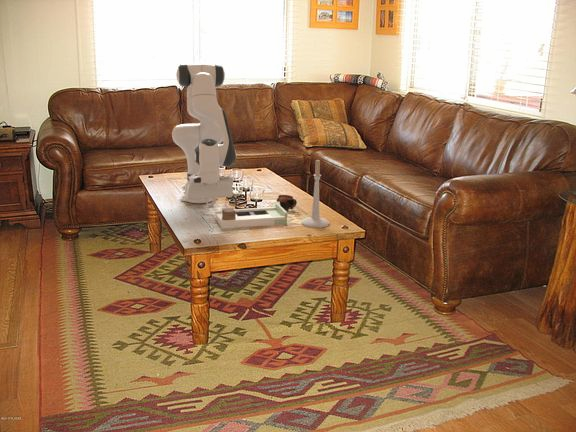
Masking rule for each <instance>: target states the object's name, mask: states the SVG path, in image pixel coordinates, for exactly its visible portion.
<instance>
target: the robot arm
mask: <svg viewBox="0 0 576 432" xmlns="http://www.w3.org/2000/svg"><path fill="white" fill-rule="evenodd" d="M175 74H176V75H175V76H176V80H177V82H178V85H180V86H181V87H185V88H187V89H186V90H187V91H186V111H187V113H188V114H189V115H190V116H191V117H192V118H193V119H197V120H198V121H199V123H183V124H178V125H175V126H174V127H173V129H172V132H171V137H172V141H173V142H174V144H175V145H177V146H178V147H179V148H181V150H182V151H183V152H184V155H185V156H186V162H187V173H186V182H185V184H184V185H182V193H181V197H180V201H181V202H186V203H187V202H188V203H193V204H206V208H207V209H213V208H214V207H215V204H216V201H217V200H218V199H221V198H232V197H233V196H234V189H233V185H234V179H233V177H231V176H228V175H227V176H221V174H220V173H221V168H220V167H221V166H222V167H231V166H232V165H234V164H235V162H236V161H237V151H236V149H235V145H234V141H233V137H232V133H231V130H230V124H229V121H228V117H227V114H226V111H225V109H224V108H222V107H221V106H220V105H219V102H218V99H217V87H221V86H222V85H223V84H224V81H225V79H226V78H225V76H226V71H225V70H224V67H223V66H222V64H219V63H208V62H196V63H194V62H193V63H181V64H179V66H177V70H176V73H175Z"/></svg>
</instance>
